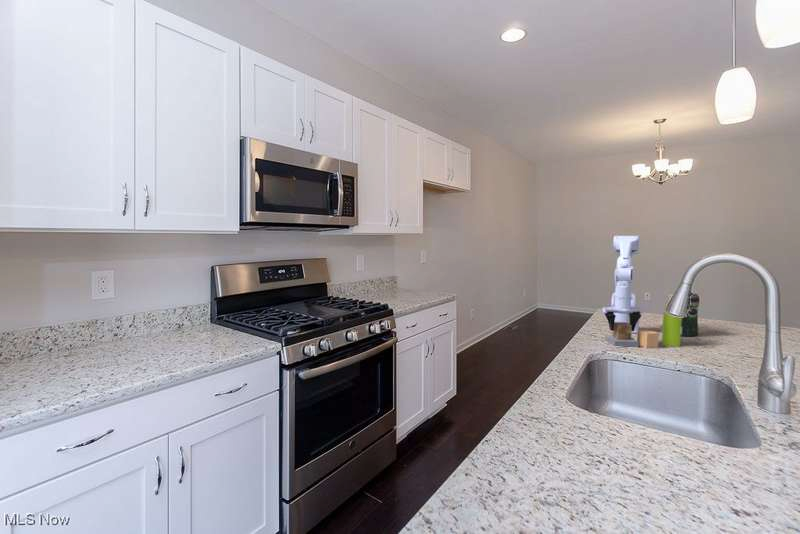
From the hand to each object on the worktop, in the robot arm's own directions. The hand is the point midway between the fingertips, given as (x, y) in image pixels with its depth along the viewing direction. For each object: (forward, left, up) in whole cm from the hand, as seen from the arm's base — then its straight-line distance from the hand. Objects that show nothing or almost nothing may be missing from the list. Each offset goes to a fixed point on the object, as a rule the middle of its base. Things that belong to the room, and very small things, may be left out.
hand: (621, 330), depth 156 cm
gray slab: (0, 0, -6) cm, 6 cm away
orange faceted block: (-9, +2, -6) cm, 11 cm away
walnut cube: (0, 0, -3) cm, 3 cm away
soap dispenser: (-20, -2, -6) cm, 21 cm away
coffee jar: (-34, -18, -6) cm, 39 cm away
